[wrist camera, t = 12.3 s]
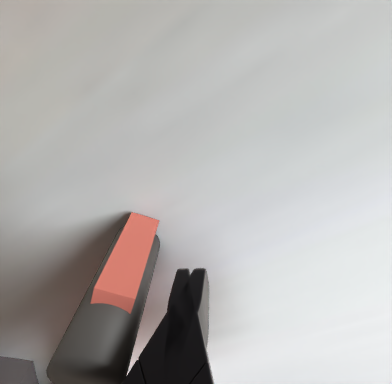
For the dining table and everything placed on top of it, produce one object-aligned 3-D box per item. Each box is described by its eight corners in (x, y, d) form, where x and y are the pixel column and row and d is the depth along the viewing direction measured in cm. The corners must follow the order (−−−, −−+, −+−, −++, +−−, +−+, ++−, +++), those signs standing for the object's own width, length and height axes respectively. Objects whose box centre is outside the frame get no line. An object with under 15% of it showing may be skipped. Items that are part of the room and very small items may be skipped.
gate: (109, 390, 18) (71, 517, 13) (80, 384, 17) (30, 510, 13) (168, 223, 11) (135, 356, 6) (122, 209, 11) (50, 336, 6)
